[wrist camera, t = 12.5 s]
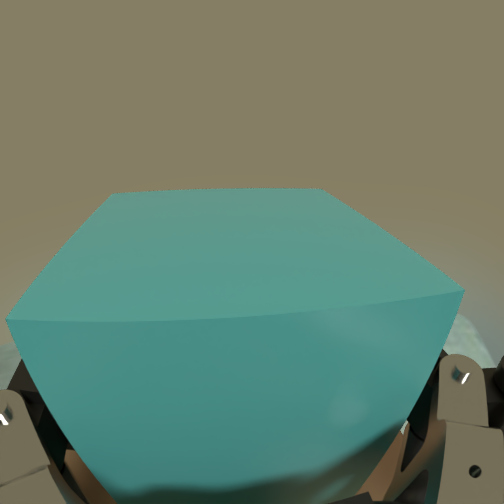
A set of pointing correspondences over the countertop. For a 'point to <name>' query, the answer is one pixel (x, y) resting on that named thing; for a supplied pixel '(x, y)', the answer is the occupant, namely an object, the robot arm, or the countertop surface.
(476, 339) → the countertop surface
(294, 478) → the tall teal pillar
